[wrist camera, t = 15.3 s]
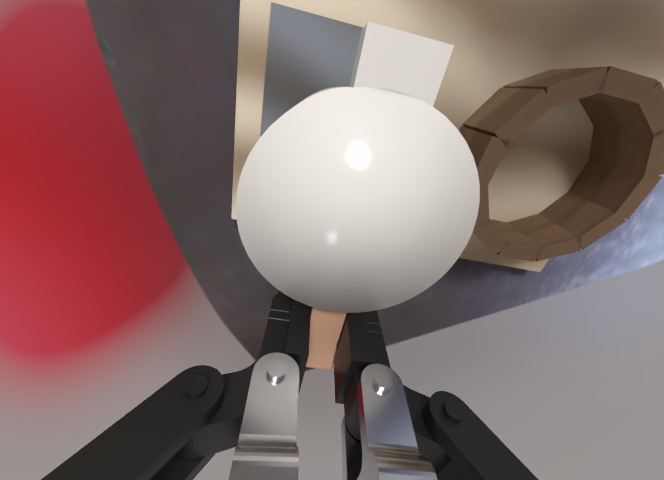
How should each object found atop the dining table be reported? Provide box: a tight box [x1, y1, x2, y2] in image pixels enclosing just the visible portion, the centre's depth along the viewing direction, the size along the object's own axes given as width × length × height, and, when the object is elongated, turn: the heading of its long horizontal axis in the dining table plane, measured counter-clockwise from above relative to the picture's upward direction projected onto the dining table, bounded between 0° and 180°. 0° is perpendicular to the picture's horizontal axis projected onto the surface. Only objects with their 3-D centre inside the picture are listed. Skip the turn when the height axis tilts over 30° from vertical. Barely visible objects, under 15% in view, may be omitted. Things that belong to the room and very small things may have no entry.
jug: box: [236, 21, 480, 369], centre depth 12 cm, size 11×6×10 cm, turn 168°
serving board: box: [232, 0, 664, 272], centre depth 15 cm, size 17×24×5 cm
